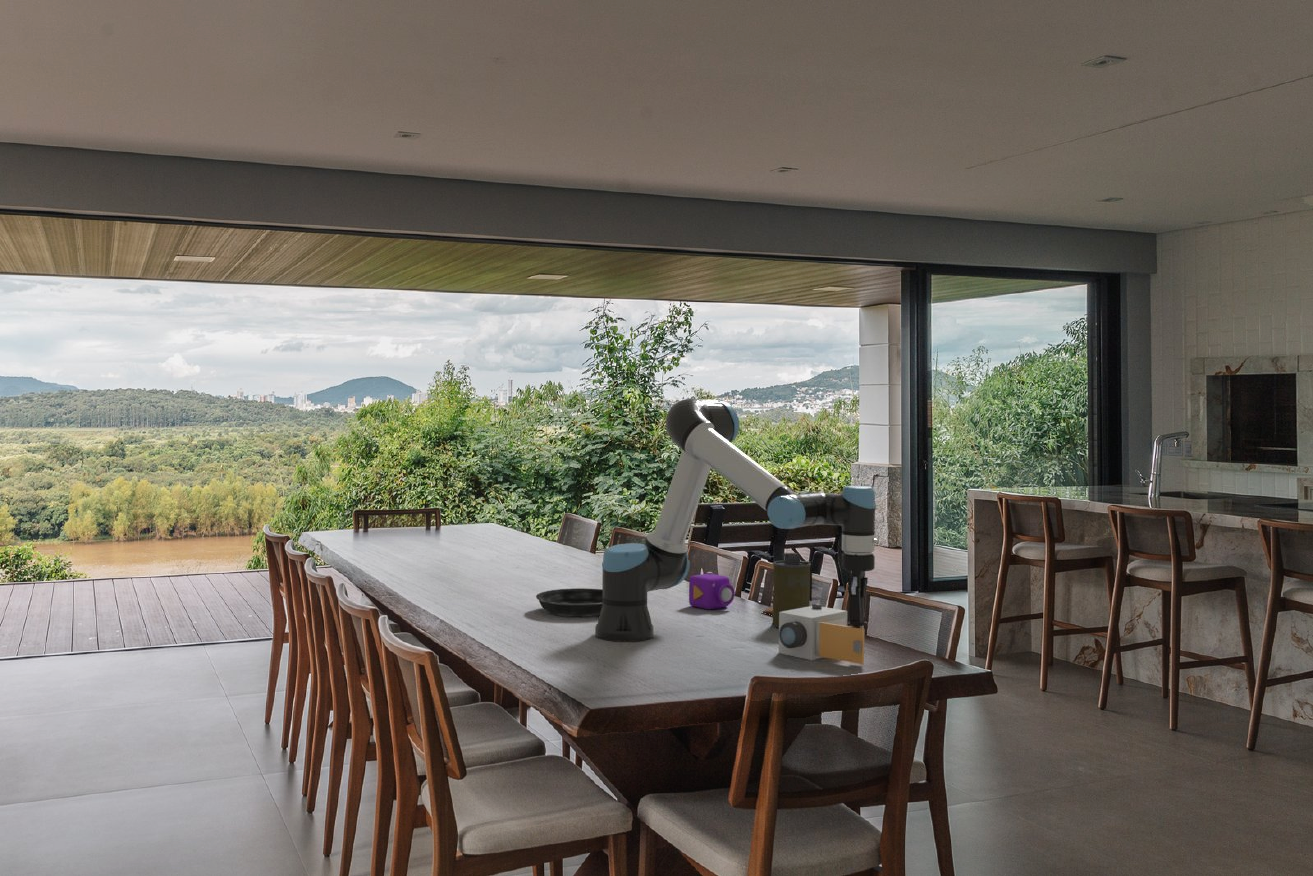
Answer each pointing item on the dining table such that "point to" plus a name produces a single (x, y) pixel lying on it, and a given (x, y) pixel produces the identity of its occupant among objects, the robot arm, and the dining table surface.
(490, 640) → the dining table surface
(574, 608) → the frying pan
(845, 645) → the battery door
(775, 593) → the canister
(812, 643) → the camera body
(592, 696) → the dining table surface
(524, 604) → the dining table surface
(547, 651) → the dining table surface
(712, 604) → the toy camera
